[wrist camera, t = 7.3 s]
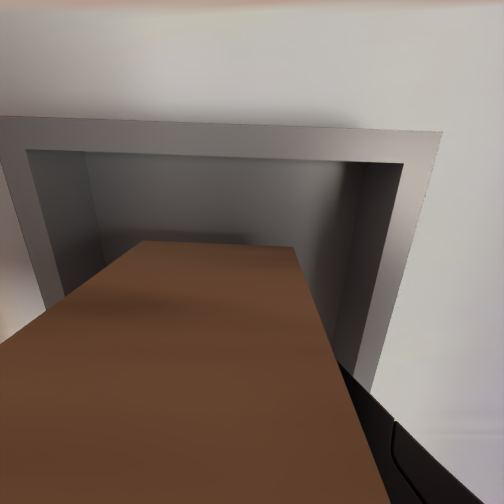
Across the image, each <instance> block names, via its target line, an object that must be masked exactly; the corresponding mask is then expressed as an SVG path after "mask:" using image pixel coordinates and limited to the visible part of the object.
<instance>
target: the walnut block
mask: <svg viewBox="0 0 504 504" xmlns="http://www.w3.org/2000/svg"><path fill="white" fill-rule="evenodd" d="M0 504H391V503H390V500H389V497H388V495H387V492H386V490H385V487H384V484H383V482H382V479H381V476H380V474H379V471H378V469H377V466H376V463H375V461H374V458H373V455H372V453H371V450H370V448H369V445H368V442H367V440H366V437H365V434H364V432H363V429H362V427H361V424H360V421H359V419H358V416H357V414H356V411H355V408H354V406H353V403H352V400H351V398H350V395H349V393H348V390H347V387H346V385H345V382H344V379H343V377H342V374H341V372H340V369H339V366H338V364H337V361H336V358H335V356H334V353H333V351H332V348H331V345H330V343H329V340H328V338H327V335H326V332H325V330H324V327H323V324H322V322H321V319H320V317H319V314H318V311H317V309H316V306H315V303H314V301H313V298H312V296H311V293H310V290H309V288H308V285H307V282H306V280H305V277H304V275H303V272H302V269H301V267H300V264H299V262H298V259H297V256H296V254H295V251H294V248H293V247H286V246H262V245H239V244H215V243H192V242H168V241H145V240H143V241H141V242H140V243H139V244H137V245H136V246H134V247H133V248H132V249H130V250H129V251H128V252H126V253H125V254H123V255H122V256H121V257H119V258H118V259H117V260H115V261H114V262H112V263H111V264H110V265H108V266H107V267H106V268H104V269H103V270H102V271H100V272H99V273H97V274H96V275H95V276H93V277H92V278H91V279H89V280H88V281H86V282H85V283H84V284H82V285H81V286H80V287H78V288H77V289H75V290H74V291H73V292H71V293H70V294H69V295H67V296H66V297H64V298H63V299H62V300H60V301H59V302H58V303H56V304H55V305H53V306H52V307H51V308H49V309H48V310H47V311H45V312H44V313H43V314H41V315H40V316H38V317H37V318H36V319H34V320H33V321H32V322H30V323H29V324H27V325H26V326H25V327H23V328H22V329H21V330H19V331H18V332H16V333H15V334H14V335H12V336H11V337H10V338H8V339H7V340H5V341H4V342H3V343H1V344H0Z"/></svg>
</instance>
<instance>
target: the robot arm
mask: <svg viewBox="0 0 504 504" xmlns="http://www.w3.org/2000/svg"><path fill="white" fill-rule="evenodd" d="M336 361H337V360H336ZM337 364H338V366H339V369H340V372H341V374H342V377H343V379H344V382H345V385H346V387H347V390H348V393H349V395H350V398H351V400H352V403H353V406H354V408H355V411H356V414H357V416H358V419H359V421H360V424H361V427H362V429H363V432H364V434H365V437H366V440H367V442H368V445H369V448H370V450H371V453H372V455H373V458H374V461H375V463H376V466H377V469H378V471H379V474H380V476H381V479H382V482H383V484H384V487H385V490H386V492H387V495H388V497H389V500H390V503H391V504H484V503H483V502H482V501H481V500H480V499H479V498H477V497H476V496H475V495H474V494H473V493H472V492H471V491H470V490H468V489H467V488H466V487H465V486H464V485H463V484H462V483H461V482H460V481H459V480H458V479H456V478H455V477H454V476H453V475H452V474H451V473H450V472H449V471H448V470H447V469H446V468H444V467H443V466H442V465H441V464H440V463H439V462H438V461H437V460H436V459H435V458H434V457H433V456H432V455H431V454H430V453H429V452H428V451H427V450H426V449H425V448H424V447H423V446H421V445H420V444H419V443H418V442H417V441H416V440H415V439H414V438H413V437H412V436H411V435H410V434H409V433H408V432H407V431H406V430H405V429H404V428H403V427H402V426H401V425H400V424H399V422H397V421H395V422H394V418H393V417H392V416H391V415H390V414H389V412H388V411H387V410H386V409H385V408H384V407H383V406H382V405H381V404H380V403H379V402H378V401H377V400H376V399H375V398H374V397H373V396H372V395H371V394H370V393H369V392H368V391H367V390H366V389H365V388H364V387H363V386H362V385H361V384H360V383H359V382H358V381H357V380H356V379H355V378H354V377H353V376H352V375H351V374H350V373H349V372H348V371H347V370H346V369H345V368H344V367H343V366H342V365H341V364H340V363H339V362H338V361H337Z"/></svg>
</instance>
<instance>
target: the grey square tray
mask: <svg viewBox="0 0 504 504" xmlns="http://www.w3.org/2000/svg"><path fill="white" fill-rule="evenodd" d="M442 133H443V132H436V131H408V130H381V129H353V128H326V127H298V126H270V125H243V124H215V123H188V122H160V121H133V120H105V119H77V118H50V117H22V116H0V162H1V165H2V168H3V172H4V175H5V178H6V181H7V185H8V188H9V191H10V194H11V197H12V201H13V204H14V207H15V210H16V214H17V217H18V220H19V223H20V227H21V230H22V233H23V236H24V240H25V243H26V246H27V249H28V253H29V256H30V259H31V262H32V266H33V269H34V272H35V275H36V279H37V282H38V285H39V288H40V292H41V295H42V298H43V301H44V305H45V308H46V311H47V310H48V309H49V308H51V307H52V306H53V305H55V304H56V303H58V302H59V301H60V300H62V299H63V298H64V297H66V296H67V295H69V294H70V293H71V292H73V291H74V290H75V289H77V288H78V287H80V286H81V285H82V284H84V283H85V282H86V281H88V280H89V279H91V278H92V277H93V276H95V275H96V274H97V273H99V272H100V271H102V270H103V269H104V268H106V267H107V266H108V265H110V264H111V263H112V262H114V261H115V260H117V259H118V258H119V257H121V256H122V255H123V254H125V253H126V252H128V251H129V250H130V249H132V248H133V247H134V246H136V245H137V244H139V243H140V242H141V241H143V240H145V241H168V242H192V243H215V244H239V245H262V246H286V247H293V248H294V251H295V254H296V256H297V259H298V262H299V264H300V267H301V269H302V272H303V275H304V277H305V280H306V282H307V285H308V288H309V290H310V293H311V296H312V298H313V301H314V303H315V306H316V309H317V311H318V314H319V317H320V319H321V322H322V324H323V327H324V330H325V332H326V335H327V338H328V340H329V343H330V345H331V348H332V351H333V353H334V356H335V358H336V360H337V361H338V362H339V363H340V364H341V365H342V366H343V367H344V368H345V369H346V370H347V371H348V372H349V373H350V374H351V375H352V376H353V377H354V378H355V379H356V380H357V381H358V382H359V383H360V384H361V385H362V386H363V387H364V388H365V389H366V390H367V391H368V392H369V393H370V390H371V387H372V383H373V380H374V376H375V372H376V369H377V365H378V362H379V358H380V355H381V351H382V347H383V344H384V340H385V337H386V333H387V330H388V326H389V322H390V319H391V315H392V312H393V308H394V305H395V301H396V297H397V294H398V290H399V287H400V283H401V280H402V276H403V272H404V269H405V265H406V262H407V258H408V255H409V251H410V247H411V244H412V240H413V237H414V233H415V230H416V226H417V222H418V219H419V215H420V212H421V208H422V205H423V201H424V197H425V194H426V190H427V187H428V183H429V180H430V176H431V172H432V169H433V165H434V162H435V158H436V155H437V151H438V147H439V144H440V140H441V137H442Z"/></svg>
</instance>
